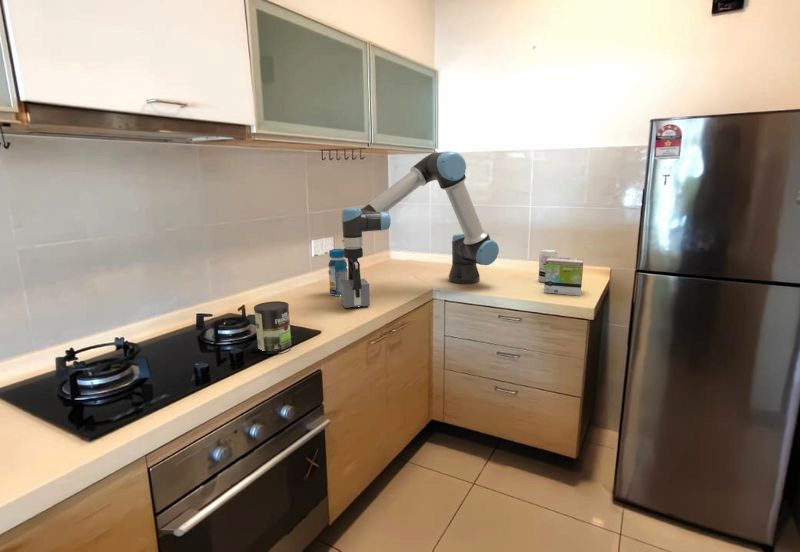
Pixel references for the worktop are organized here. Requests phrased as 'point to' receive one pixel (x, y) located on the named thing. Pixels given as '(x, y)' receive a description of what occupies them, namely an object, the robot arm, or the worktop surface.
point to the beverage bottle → (337, 270)
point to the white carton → (542, 262)
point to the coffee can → (272, 326)
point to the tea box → (563, 275)
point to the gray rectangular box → (348, 293)
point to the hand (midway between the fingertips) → (355, 301)
